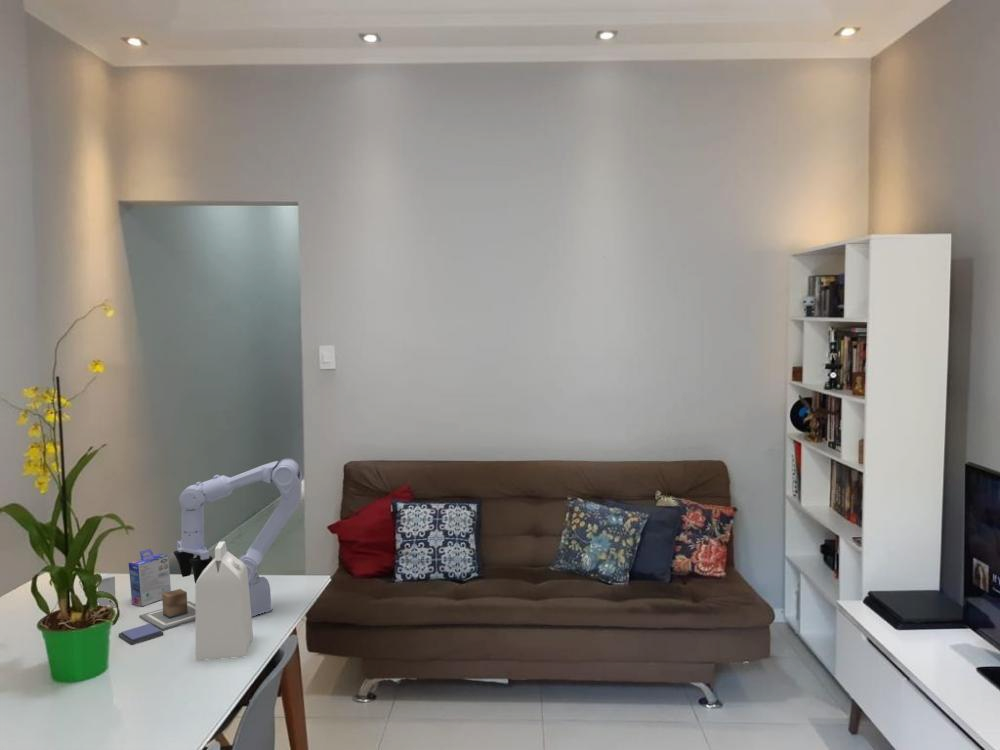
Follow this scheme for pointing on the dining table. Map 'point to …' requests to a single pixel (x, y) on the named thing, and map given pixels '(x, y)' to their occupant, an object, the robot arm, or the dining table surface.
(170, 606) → the stamp
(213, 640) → the milk
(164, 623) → the mat
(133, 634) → the ink pad
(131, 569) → the ink cartridge box
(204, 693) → the dining table surface
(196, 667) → the dining table surface
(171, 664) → the dining table surface
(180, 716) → the dining table surface
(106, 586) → the skincare box
